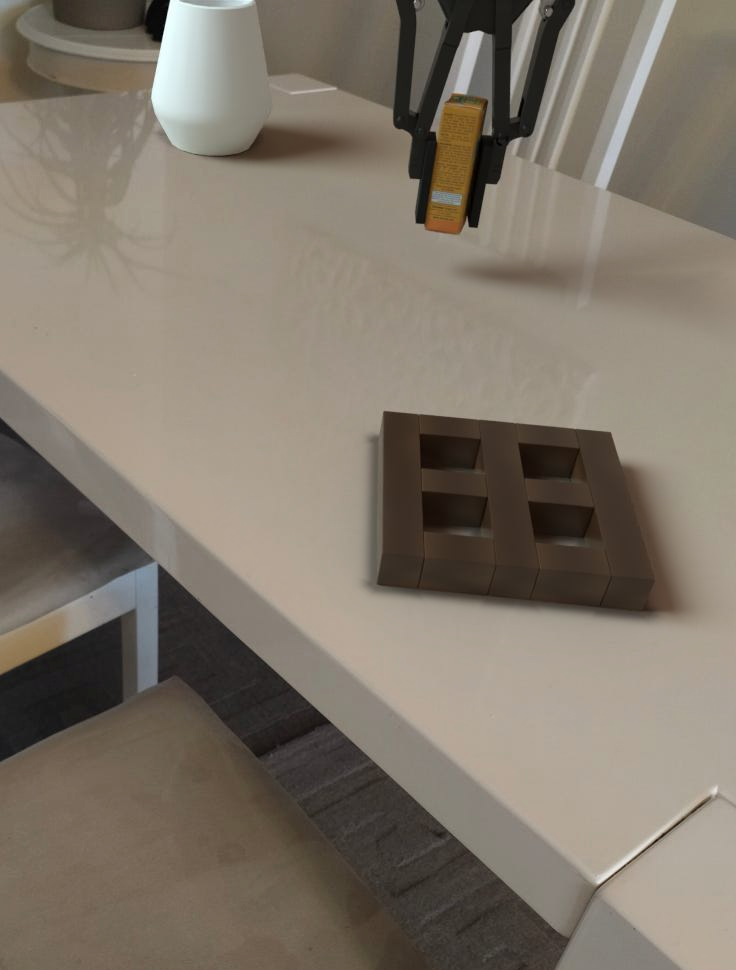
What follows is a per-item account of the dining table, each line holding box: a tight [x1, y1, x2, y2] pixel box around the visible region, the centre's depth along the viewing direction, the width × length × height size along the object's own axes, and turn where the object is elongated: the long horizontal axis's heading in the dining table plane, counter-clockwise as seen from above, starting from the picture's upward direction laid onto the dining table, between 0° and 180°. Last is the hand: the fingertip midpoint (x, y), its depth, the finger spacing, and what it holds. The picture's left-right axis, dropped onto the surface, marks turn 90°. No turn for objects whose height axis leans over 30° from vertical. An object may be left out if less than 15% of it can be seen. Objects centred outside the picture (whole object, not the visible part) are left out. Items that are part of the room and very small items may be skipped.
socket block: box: [375, 410, 656, 612], centre depth 61 cm, size 15×15×3 cm
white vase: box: [150, 0, 273, 157], centre depth 106 cm, size 13×13×14 cm
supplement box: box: [423, 92, 489, 236], centre depth 81 cm, size 3×3×10 cm
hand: (446, 219), depth 84 cm, fingers closed on supplement box, 4 cm apart
